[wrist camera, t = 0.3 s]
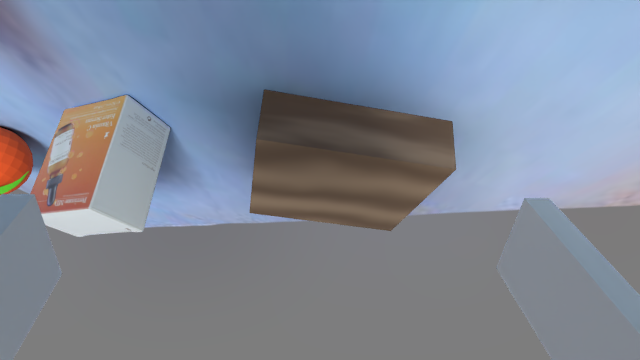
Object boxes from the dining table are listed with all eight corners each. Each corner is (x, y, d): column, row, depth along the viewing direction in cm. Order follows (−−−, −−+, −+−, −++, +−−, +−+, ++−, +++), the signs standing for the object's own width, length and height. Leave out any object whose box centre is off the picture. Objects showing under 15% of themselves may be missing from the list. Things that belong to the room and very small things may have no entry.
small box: (128, 91, 36) (90, 208, 31) (172, 127, 40) (145, 233, 36) (61, 108, 39) (18, 216, 34) (110, 139, 43) (77, 238, 39)
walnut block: (264, 85, 34) (256, 139, 32) (452, 117, 36) (456, 169, 34) (255, 171, 48) (249, 212, 46) (390, 190, 51) (390, 230, 48)
